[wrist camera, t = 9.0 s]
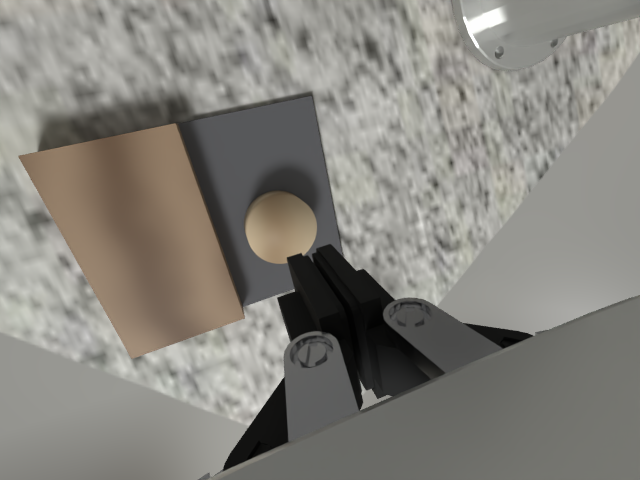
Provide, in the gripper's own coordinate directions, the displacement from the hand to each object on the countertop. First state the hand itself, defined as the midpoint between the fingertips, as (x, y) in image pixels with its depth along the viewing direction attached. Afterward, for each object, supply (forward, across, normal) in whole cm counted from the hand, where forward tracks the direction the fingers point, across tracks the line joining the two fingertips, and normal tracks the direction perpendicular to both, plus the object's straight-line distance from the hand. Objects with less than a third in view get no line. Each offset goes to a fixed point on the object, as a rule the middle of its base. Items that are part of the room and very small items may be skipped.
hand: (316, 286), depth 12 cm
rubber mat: (+13, 0, 0) cm, 13 cm away
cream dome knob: (+13, 0, +2) cm, 13 cm away
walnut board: (+13, +8, 0) cm, 15 cm away
